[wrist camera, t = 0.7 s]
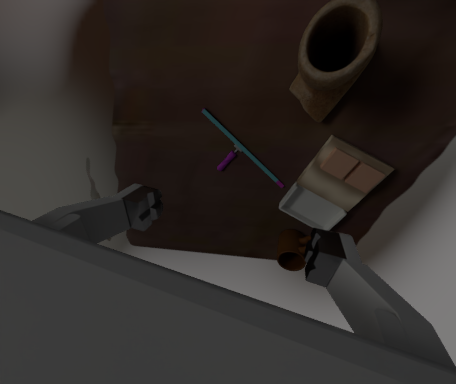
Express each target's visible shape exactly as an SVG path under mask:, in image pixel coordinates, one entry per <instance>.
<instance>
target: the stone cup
mask: <svg viewBox="0 0 456 384" xmlns="http://www.w3.org/2000/svg"><path fill="white" fill-rule="evenodd" d="M382 22H383V20H382V12H381V9H380V7H379V4H378V3H377V2H376V1H375V0H332V1H330V2H329V3H327V4H326V5H324V6H323V7H322V8H321V9H320V10H319V11H318V12H317V13H316V14H315V16H314V17H313V18H312V20H311V21H310V23H309V25H308V26H307V28H306V30H305V32H304V34H303V37H302V39H301V43H300V47H299V54H298V69H299V73H298V75H297V77H296V78H295V80H294V81H293V83H292V84H291V87H290V91H291V92H292V93H293V94H294V95H295V96H296V97H297V98H298V99H299V100H300V102H301V104H302V106H303V108H304V110H305V111H306V112H307V113H308V114H309V115H310V116H311V117H312V118H313V119H314V120H315V121H316V122H321V121H322V120H323V119H324V118H325V117H326V116H327V115H328V113H329V112H330V111H331V110H332V109H333V108H334V107H335V105H336V104H337V103H338V102H339V101H340V99H341V98H342V96H343V95H344V94H345V93H346V92H347V91H348V90H349V88H350V87H351V86H352V85H353V83H354V82H355V81H356V80H357V78H358V77H359V76H360V74H361V73H362V72H363V70H364V69H365V68H366V66H367V65H368V63H369V62H370V61H371V59H372V57H373V55H374V53H375V51H376V48H377V45H378V42H379V39H380V35H381V31H382Z"/></svg>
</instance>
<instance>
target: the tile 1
mask: <svg viewBox="0 0 456 384" xmlns="http://www.w3.org/2000/svg"><path fill="white" fill-rule="evenodd" d="M358 162H359V160H358V159H357V158H356V157H354V156H352V155H350V154H348V153H346V152H345V151H343V150H341V149H339V148H337V147H335V148H334V149H333V150H332V151H331V153H330V154H329V155H328V156H327V158H326V159H325V160H324V161H323V162H322V164H321V165H320V167H321V169H322V170H324V171H326V172H328V173H330V174H331V175H333V176H335V177H337V178H339V179H341V180H342V179H343V178H344V177H345V175H346V174H347V173H348V172H349V171H350V170H351V169H352V168H353V167H354V166H355V165H356V164H357V163H358Z"/></svg>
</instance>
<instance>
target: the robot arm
mask: <svg viewBox="0 0 456 384" xmlns="http://www.w3.org/2000/svg"><path fill="white" fill-rule="evenodd" d="M161 197H162V194H161V191H160V190H158V189H155V188H151V187H147V186H143V185H139V184H133V185H131V186H130V187H128V188H126V189H125V190H123V191H121V192H120V193H118V194H116V195H115V196H113V197H112V196H108V197H104V198H99V199H95V200H91V201H86V202H81V203H77V204H73V205H68V206H63V207H59V208H56V209H54V210H52V211H50V212H49V213H47V214H45V215H43V216H41V217H39V218H37V219H35V220H33V221H30V220H27V219H24V218H21V217H18V216H16V215H13V214H10V213H7V212H4V211H1V210H0V384H456V366H455V365H454V363H453V361H452V359H451V358H450V356H449V354H448V352H447V351H446V349H445V347H444V345H443V344H442V342H441V340H440V338H439V337H438V335H437V333H436V332H435V330H434V328H433V326H432V325H431V323H429V322H428V321H427V320H426V319H425V318H424V317H423V316H422V315H421V314H420V313H418V312H417V311H416V310H415V309H414V308H413V307H412V306H411V305H410V304H409V303H408V302H406V301H405V300H404V299H403V298H402V297H401V296H400V295H399V294H398V293H397V292H395V291H394V290H393V289H392V288H391V287H390V286H389V285H388V284H387V283H386V282H384V281H383V280H382V279H381V278H380V277H379V276H378V275H377V274H376V273H375V272H374V271H372V270H371V269H370V268H369V267H368V266H367V265H364V264H362V261H361V259H360V256H359V254H358V251H357V249H356V246H355V243H354V241H353V238H352V236H350V235H347V234H342V233H336V232H332V231H328V230H323V229H319V228H315V227H314V228H313V230H312V232H311V239H310V240H308V242H307V245H306V248H305V255H304V257H305V261H306V263H307V265H306V267H305V276H306V281H308V282H311V283H314V284H317V285H320V286H323V287H326V289H327V290H328V292H329V294H330V295H331V297H332V298H333V300H334V301H335V303H336V305H337V306H338V307H339V309H340V311H341V313H342V314H343V315H344V317H345V319H346V320H347V322H348V324H349V325H350V327H351V328H352V330H353V331H354V333H352V332H349V331H346V330H343V329H341V328H338V327H335V326H332V325H329V324H326V323H323V322H320V321H318V320H314V319H312V318H309V317H306V316H303V315H300V314H297V313H295V312H292V311H289V310H286V309H283V308H280V307H277V306H275V305H272V304H269V303H266V302H263V301H260V300H257V299H254V298H251V297H249V296H246V295H243V294H240V293H237V292H234V291H231V290H228V289H226V288H223V287H220V286H217V285H214V284H211V283H208V282H205V281H203V280H200V279H197V278H194V277H191V276H188V275H185V274H182V273H180V272H177V271H174V270H171V269H168V268H165V267H162V266H159V265H157V264H154V263H151V262H148V261H145V260H142V259H139V258H137V257H134V256H131V255H128V254H125V253H122V252H119V251H116V250H114V249H110V248H107V247H105V246H102V245H99V244H97V243H99V242H101V241H103V240H105V239H108V238H110V237H112V236H114V235H116V234H119V233H121V232H123V231H125V230H128V229H130V227H131V228H134V229H138V230H142V231H145V230H146V229H147V228H148V227H149V226H150V225H151V224H152V220H155V219H157V218H158V217H159V216H160V215H161V213H162V211H163V203H162V201H161V200H160V198H161Z"/></svg>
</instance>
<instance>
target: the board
mask: <svg viewBox="0 0 456 384" xmlns="http://www.w3.org/2000/svg"><path fill="white" fill-rule="evenodd" d="M335 147H337V148H339V149H341V150H343V151H345V152H346V153H348V154H350V155H352V156H354V157H356V158H357V159H358V160H359V161H360V160H361V161H363V162H365V163H367V164H369V165H371V166H373V167H374V168H376V169H378V170H380V171H382V172H383V173H384V174H385V176H384V177H383V178H382V179H381V180H380V181H379V182H378V183H377V184H376V185H375V186H373V187H372V188H371V189H370V190H369V191H368V192H367V193H365V192H363V191H361V190H359V189H357V188H355V187H353V186H352V185H350V184H348V183H346V182H345V180H344V179H342V180H341V179H339V178H337V177H335V176H333V175H331V174H330V173H328V172H326V171H324V170H322V169H321V167H320V165H321V164H322V162H323V161H324V160H325V159H326V158H327V156H328V155H329V154H330V153H331V151H332V150H333V149H334V148H335ZM356 165H357V164H356ZM356 165H355V166H356ZM355 166H354V167H355ZM354 167H353V168H354ZM353 168H352V169H353ZM352 169H351V170H352ZM351 170H350V171H351ZM393 170H394V168H392V167H391V166H390V165H388V164H387V163H385V162H383V161H381V160H379V159H377V158H375V157H373V156H372V155H370V154H368V153H366V152H364V151H362V150H360V149H358V148H357V147H355V146H353V145H351V144H349V143H347V142H345V141H343V140H342V139H340V138H338V137H336V136H334V135H331V137H330V138H329V139H328V140H327V142H326V143H325V144H324V146H323V147H322V148H321V150H320V151H319V152H318V153H317V155H316V156H315V157H314V159H313V160H312V161H311V163H310V164H309V165H308V166H307V168H306V169H305V170H304V172H303V173H302V174H301V176H300V177H299V178H298V179H297V184H298V185H300V186H302V187H304V188H305V189H307V190H309V191H311V192H313V193H314V194H316V195H318V196H320V197H322V198H323V199H325V200H327V201H329V202H331V203H333V204H334V205H336V206H338V207H340V208H342V209H343V210H345V211H347V212H348V211H349V210H350V209H351V208H353V207H354V206H355V205H356V204H357V203H358V202H359V201H360V200H361V199H362V198H364V197H365V196H366V195H367V194H368V193H369V192H370V191H371V190H372V189H373V188H375V187H376V186H377V185H378V184H379V183H380V182H381V181H382V180H383V179H384V178H386V177H387V176H388V175H389V174H390V173H391V172H392V171H393ZM350 171H349V172H350ZM349 172H348V173H349ZM348 173H347V174H348ZM347 174H346V175H347ZM346 175H345V176H346Z"/></svg>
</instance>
